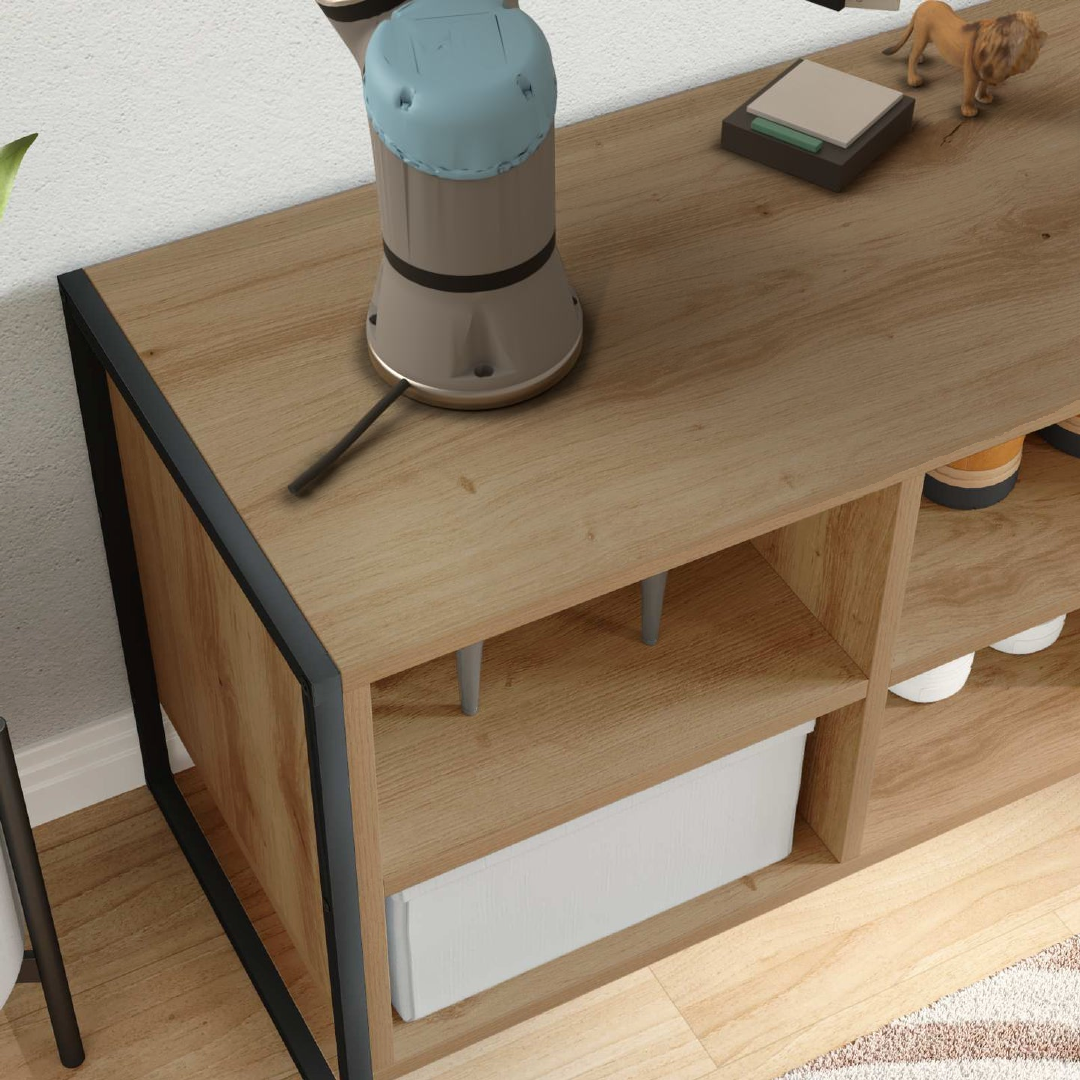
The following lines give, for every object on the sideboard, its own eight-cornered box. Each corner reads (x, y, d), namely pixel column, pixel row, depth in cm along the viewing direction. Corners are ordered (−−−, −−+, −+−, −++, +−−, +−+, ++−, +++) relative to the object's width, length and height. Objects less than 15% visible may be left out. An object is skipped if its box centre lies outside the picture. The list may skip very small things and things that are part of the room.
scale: (837, 192, 124) (842, 158, 121) (720, 147, 128) (722, 113, 126) (911, 125, 130) (917, 92, 128) (796, 84, 135) (800, 51, 133)
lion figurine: (1040, 111, 131) (1065, 10, 125) (1003, 135, 129) (1026, 34, 122) (898, 47, 139) (914, -51, 132) (860, 70, 136) (875, -29, 130)
